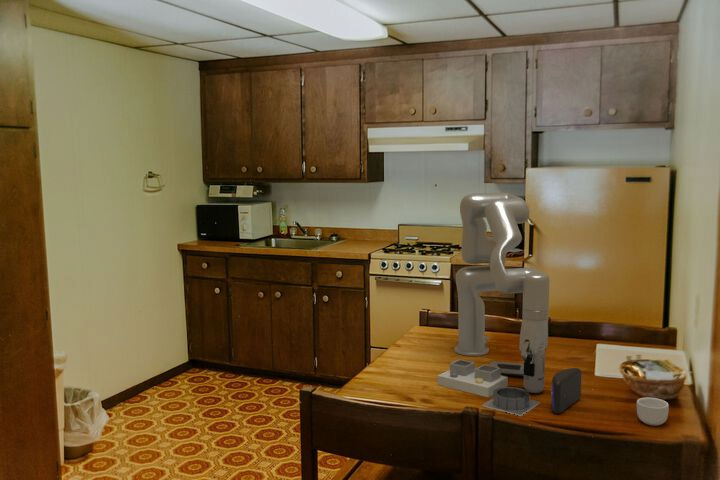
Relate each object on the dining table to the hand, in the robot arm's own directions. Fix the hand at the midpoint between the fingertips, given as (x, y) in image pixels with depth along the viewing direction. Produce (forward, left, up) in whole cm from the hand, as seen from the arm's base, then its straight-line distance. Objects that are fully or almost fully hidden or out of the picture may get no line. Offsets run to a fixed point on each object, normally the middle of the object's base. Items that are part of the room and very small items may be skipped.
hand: (534, 371), depth 191 cm
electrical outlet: (-12, -15, -7) cm, 20 cm away
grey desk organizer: (+6, -18, -6) cm, 20 cm away
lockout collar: (+13, -1, -6) cm, 15 cm away
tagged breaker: (+5, -13, -3) cm, 14 cm away
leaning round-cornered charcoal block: (+4, +12, -7) cm, 15 cm away
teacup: (0, +34, -7) cm, 35 cm away
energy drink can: (0, 0, -6) cm, 6 cm away
